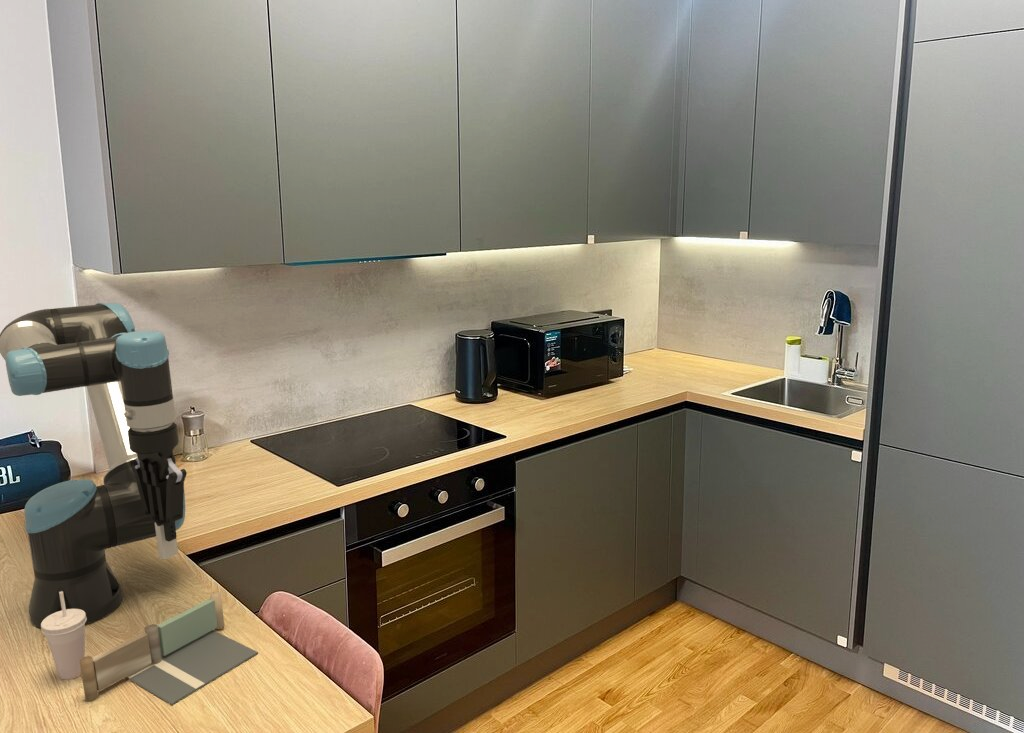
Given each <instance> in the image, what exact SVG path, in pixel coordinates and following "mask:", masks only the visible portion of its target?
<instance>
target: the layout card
mask: <svg viewBox="0 0 1024 733" xmlns="http://www.w3.org/2000/svg"><path fill="white" fill-rule="evenodd" d="M161 655H162V654H161ZM256 655H259V652H258V651H257V650H254V649H253V648H250V647H249V646H248V645H247V646H246V645H244V644H242V643H240V642H238V641H236V640H234V639H232V638H230V637H228V636H226V635H224V634H222V633H220V632H218V631H216V630H215V629H213V630H212V631H210V632H208V633H206V634H204V635H202V636H201V637H199V638H197V639H195V640H193V641H191V642H189V643H188V644H186V645H184V646H182V647H180V648H178V649H176V650H175V651H173V652H171V653H169V654H167V655H165V656H164V655H162V661H161V662H160V663H158V664H149V665H147V666H145V667H143V668H141V669H140V670H138V671H136V672H134V673H132V674H130V675H128V676H127V677H125V678H124V679H126V680H128V681H130V682H132V683H134V684H135V685H137V686H138V687H140V688H142V689H144V690H145V691H147V692H149V694H150V693H151V695H153V696H156V697H157V698H158V699H160V700H162V701H164V702H165V703H166V704H168V705H170V706H173V705H176V704H177V703H179V702H180V701H182V700H184V699H185V698H187V697H188V696H190V695H191V694H193V693H195V692H197V691H199V690H200V689H202V688H203V687H205V686H206V685H208V684H210V683H211V682H213V681H215V680H217V679H219V678H220V677H222V676H224V675H225V674H227V673H228V672H230V671H231V670H234V669H236V668H237V667H238V666H239V667H240V665H241V664H244V663H245V662H247V661H249V660H250V659H253V657H255V656H256Z"/></svg>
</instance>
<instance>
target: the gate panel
mask: <svg viewBox="0 0 1024 733" xmlns="http://www.w3.org/2000/svg"><path fill="white" fill-rule="evenodd" d="M222 599H223V598H222V593H221V592H220V591H215V592H212V593H210V595H209V598H208V599H206V600H205V601H204V600H203V601H202V602H200V603H198V604H195V605H194V606H192V607H191V608H188V609H186V610H185V611H182V612H181V613H178V614H177V615H174V616H172V617H170V618H169V619H167V620H165V621H162V622H160V623H159V624H156V625H157V626H158V633H159V640H160V647H161V654H162V655H164V656H165V655H167V654H169V653H171V652H173V651H175V650H176V649H178V648H180V647H182V646H184V645H186V644H188V643H189V642H191V641H193V640H195V639H197V638H199V637H201V636H202V635H204V634H206V633H208V632H210V631H212V630H215V629H217V630H218V629H222V628H224V627H225V618H224V610H223V600H222Z"/></svg>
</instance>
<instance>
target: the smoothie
mask: <svg viewBox="0 0 1024 733" xmlns="http://www.w3.org/2000/svg"><path fill="white" fill-rule="evenodd" d="M59 595H60V601H61V607H62V610H61V611H58V612H55V613H53V614H51V615H49V616H48V617H46V618H45V619H44V620H43V621H42V623H41V628H40V631H41V633H43V635H44V636H45V638H46V641H47V644H48V647H49V651H50V652H51V657H52V659H53V663H54V665H55V668H56V672H57V674H58V677H59V679H61V680H73V679H75V678H77V677H80V676H82V675H81V669H80V663H79V660H80V659H82V658H83V657H86V638H85V637H86V629H85V628H86V627H85V626H86V625H85V622H86V620H87V617H86V613H85V612H84V611H83V610H80V609H66V607H65V601H64V595H63V591H61V592H59Z"/></svg>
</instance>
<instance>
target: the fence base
mask: <svg viewBox="0 0 1024 733" xmlns="http://www.w3.org/2000/svg"><path fill="white" fill-rule="evenodd" d="M157 625H158V624H156V623H155V624H154V623H152V624H151V623H150V624H148V625H146V626H145V627H144V628H143V630H144V632H143V631H142V632H141V633H139V634H137V635H136V636H133V637H131V638H129V639H126V640H125V641H123V642H121V643H119V644H117V645H115V646H113V647H111V648H108V649H107V650H105V651H103V652H101V653H99V654H97V655H95V656H94V657H92V656H91V655H87V656H86V655H85V657H83V658H82V659H80V660H79V663H80V669H81V675H80V676H81V680H82V687H83V688H82V689H83V693H84V699H85V701H86V702H93V701H96V700H97V699H98V698H99V692H100V691H103V690H105V689H107V688H108V687H110V686H112V685H114V684H115V683H117V682H120V681H121V680H122V679H126V678H125V677H127V676H128V675H130V674H132V673H134V672H136V671H138V670H140V669H141V668H143V667H145V666H147V665H149V664H158V663H160V662H161V661H162V655H161V647H160V640H159V633H158V626H157Z"/></svg>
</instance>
